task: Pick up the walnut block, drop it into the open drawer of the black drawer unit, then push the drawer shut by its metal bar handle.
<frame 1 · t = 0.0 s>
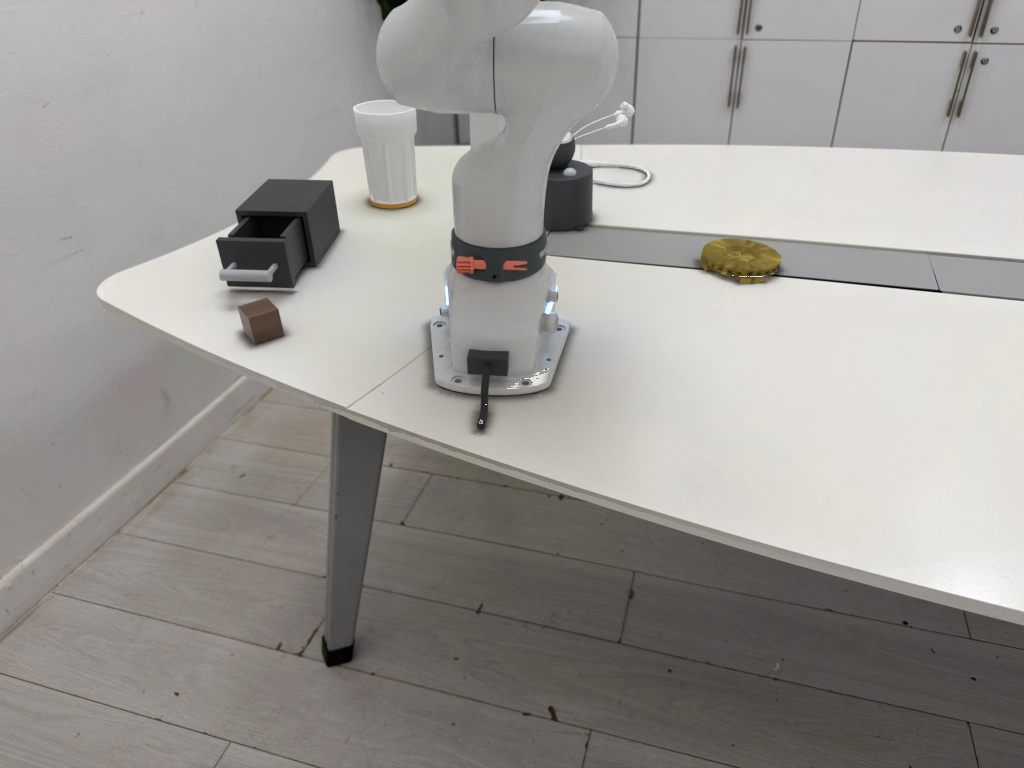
compass: (738, 267, 108), on the table
drawer: (266, 251, 101), point 5 cm above the table, slide at 8.0 cm
milk carton: (495, 183, 141), on the table
earphone: (603, 176, 144), on the table
block: (264, 333, 90), on the table
cabinet: (296, 247, 113), on the table
light fixture: (557, 218, 125), on the table
cup: (393, 201, 132), on the table
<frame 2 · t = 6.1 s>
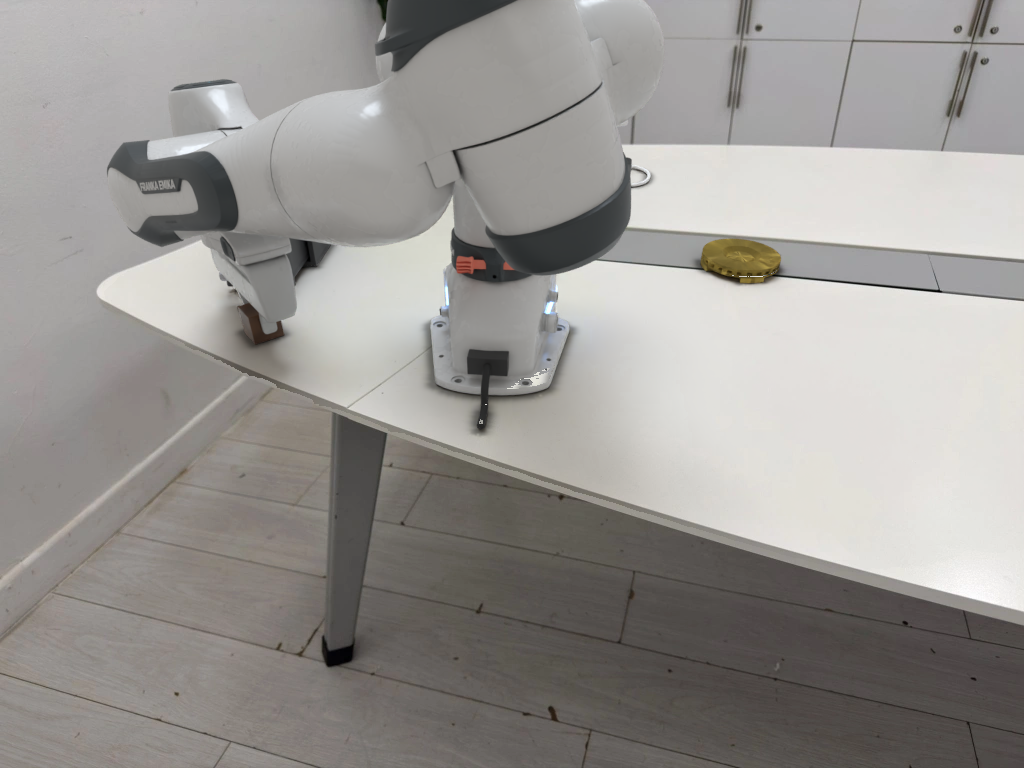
hand: (261, 322, 89), 2 cm above the table, tool pointing down, fingers closed on block, 4 cm apart
block: (264, 333, 90), on the table, touching gripper
everything else where it was.
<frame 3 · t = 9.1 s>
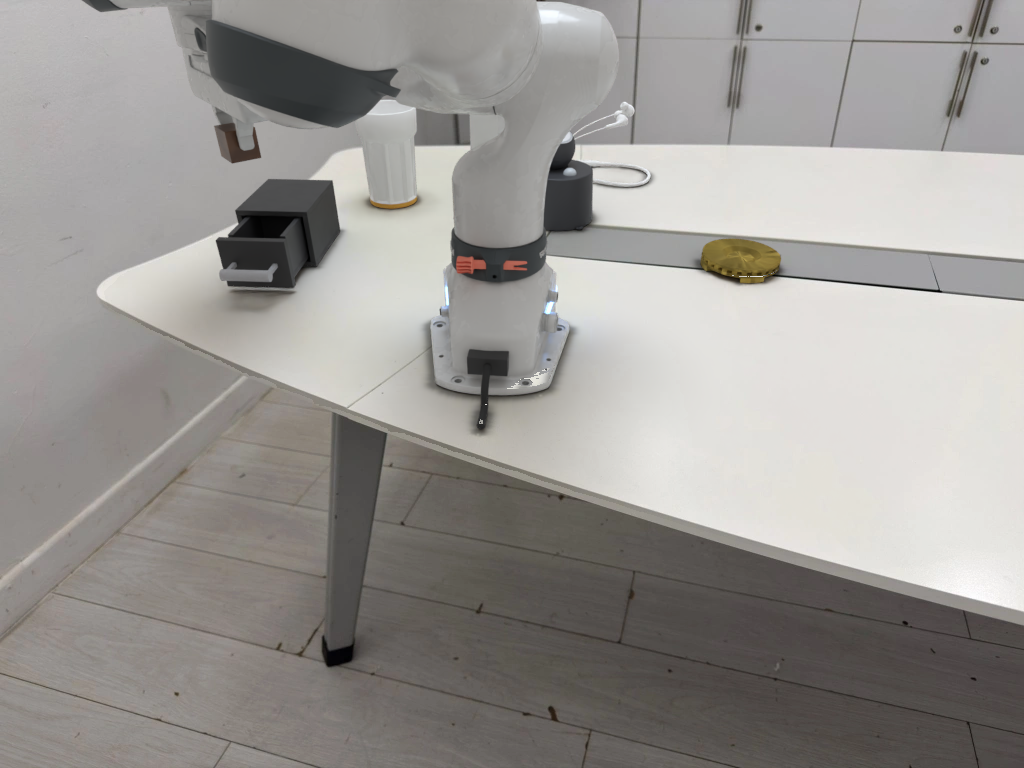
hand: (239, 144, 90), 21 cm above the table, tool pointing down, fingers closed on block, 4 cm apart
block: (241, 157, 91), point 19 cm above the table, touching gripper
everything else where it was.
when the fingers open (8 cm above the table, at t = 12.5 s): block drops 4 cm, resting on drawer.
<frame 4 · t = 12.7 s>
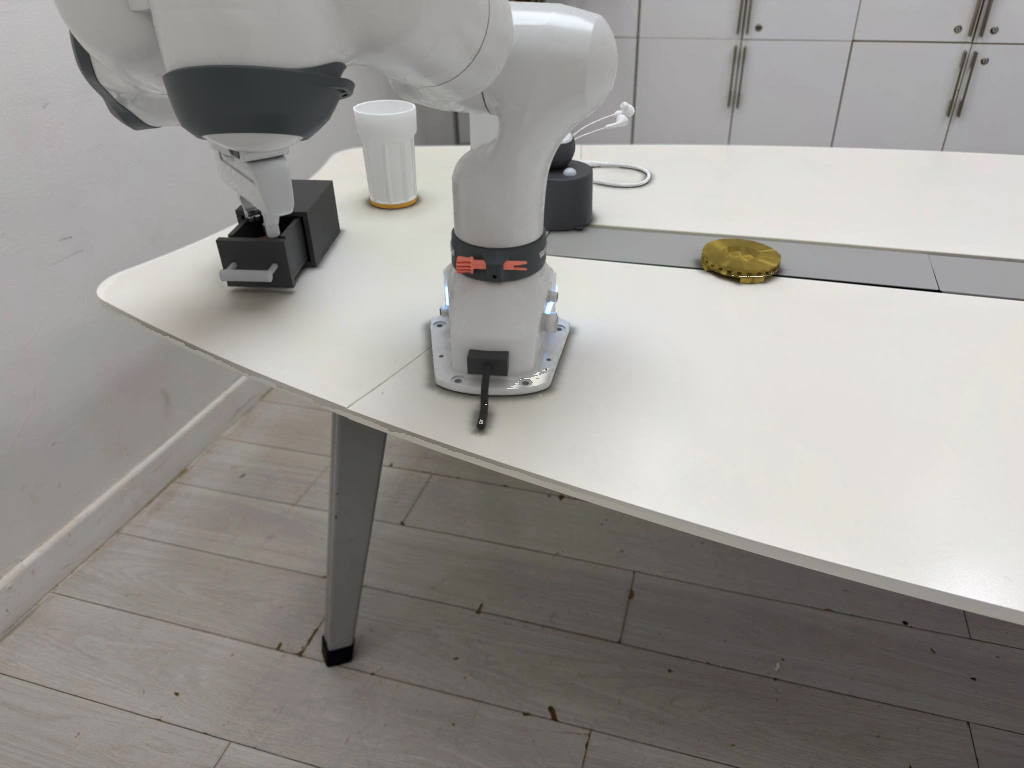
hand: (262, 227, 99), 8 cm above the table, tool pointing down, fingers open, 6 cm apart
drawer: (266, 251, 101), point 5 cm above the table, slide at 8.0 cm, touching block, gripper
block: (270, 265, 103), point 2 cm above the table, touching drawer
everything else where it was.
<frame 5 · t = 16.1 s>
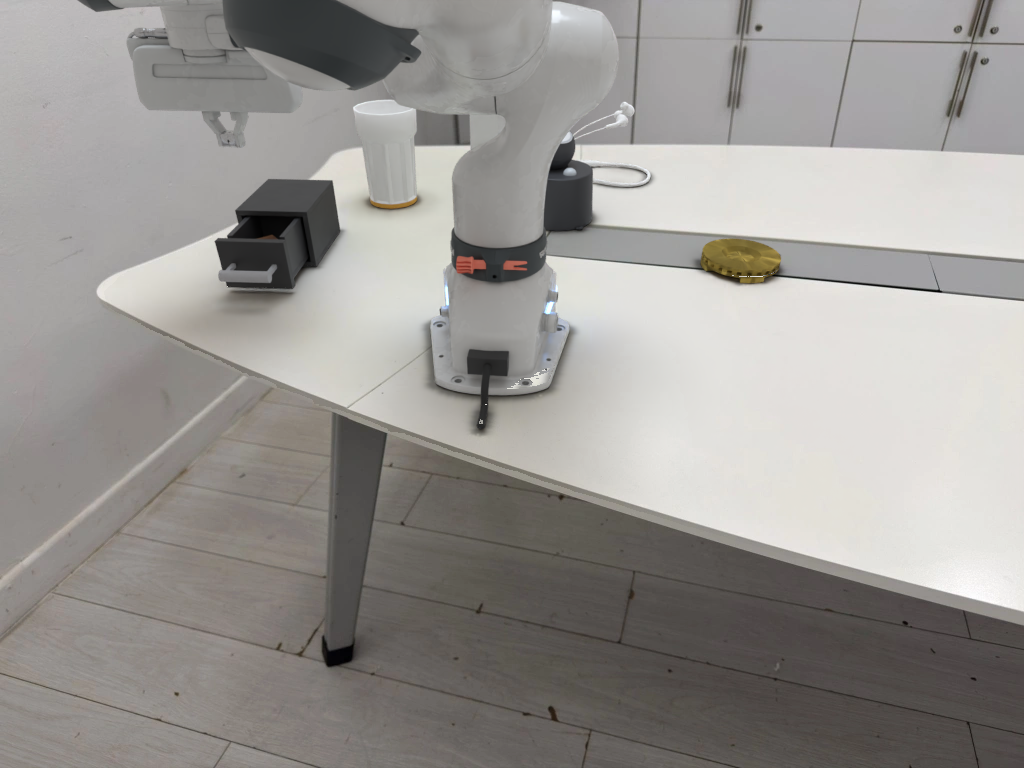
hand: (232, 146, 89), 21 cm above the table, tool pointing down, fingers closed
drawer: (265, 252, 101), point 5 cm above the table, slide at 8.3 cm, touching block
everything else where it was.
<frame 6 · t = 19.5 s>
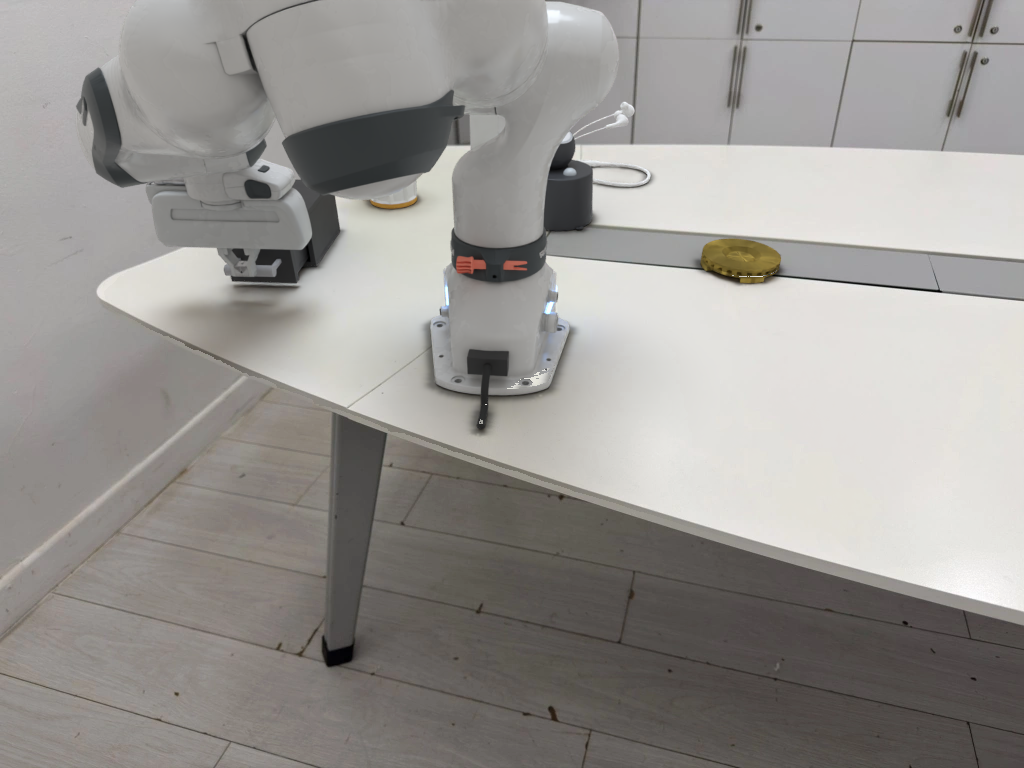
hand: (245, 275, 94), 5 cm above the table, tool pointing down, fingers closed, pressing on drawer
drawer: (269, 247, 102), point 5 cm above the table, slide at 6.4 cm, touching block, gripper
block: (274, 261, 104), point 2 cm above the table, touching drawer
everything else where it was.
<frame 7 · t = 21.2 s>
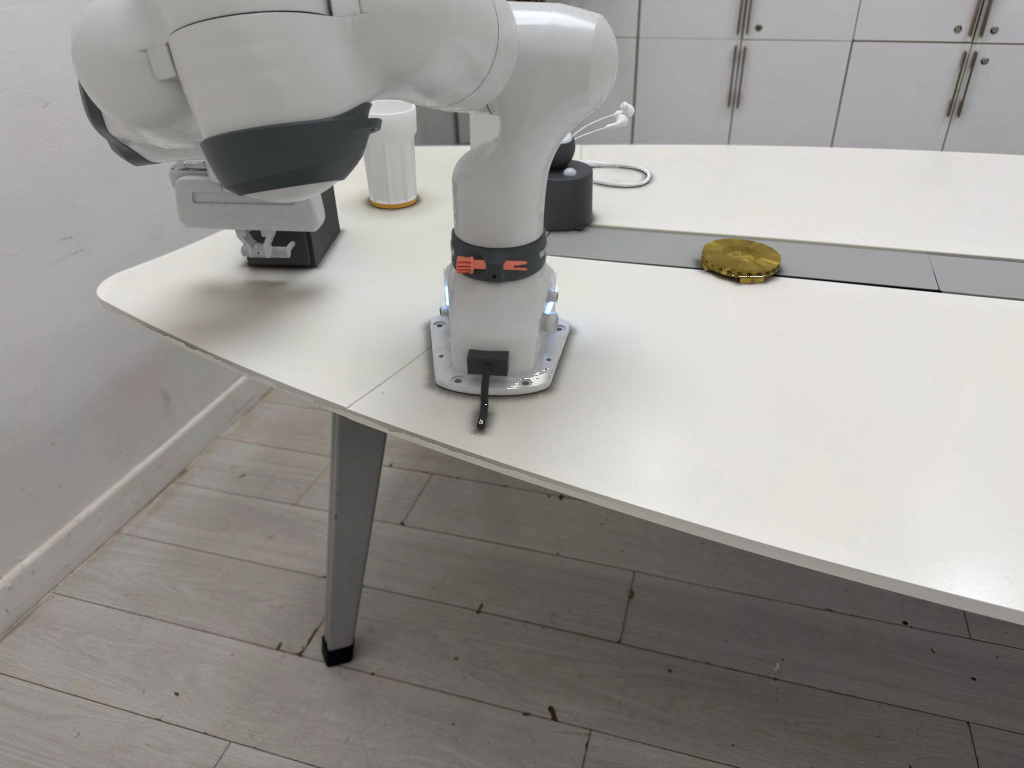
hand: (261, 256, 99), 5 cm above the table, tool pointing down, fingers closed, pressing on drawer
drawer: (283, 230, 107), point 5 cm above the table, slide at 0.0 cm, touching block, cabinet, gripper
block: (287, 244, 109), point 2 cm above the table, touching drawer
everything else where it was.
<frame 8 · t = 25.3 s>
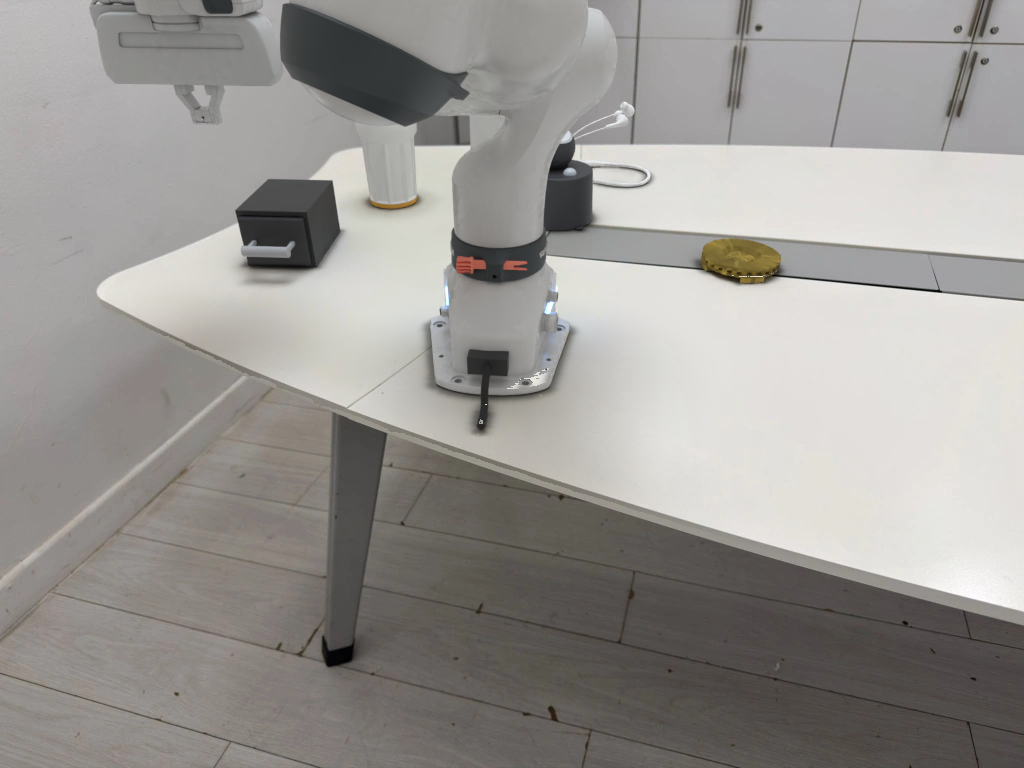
hand: (208, 123, 82), 25 cm above the table, tool pointing down, fingers closed
drawer: (283, 230, 107), point 5 cm above the table, slide at 0.0 cm, touching block, cabinet
everything else where it was.
at the end: block inside the target area in the cabinet (3.4 cm from its centre), point 2.0 cm above the cabinet's base; drawer slide at 0.0 cm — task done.
